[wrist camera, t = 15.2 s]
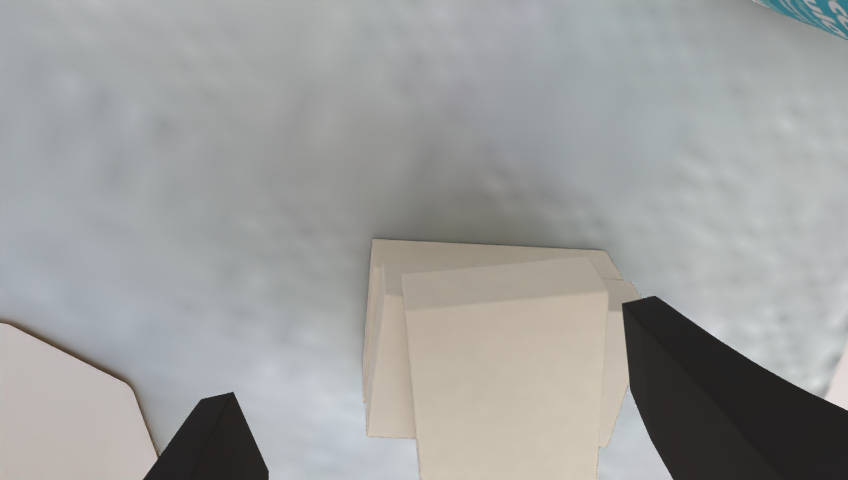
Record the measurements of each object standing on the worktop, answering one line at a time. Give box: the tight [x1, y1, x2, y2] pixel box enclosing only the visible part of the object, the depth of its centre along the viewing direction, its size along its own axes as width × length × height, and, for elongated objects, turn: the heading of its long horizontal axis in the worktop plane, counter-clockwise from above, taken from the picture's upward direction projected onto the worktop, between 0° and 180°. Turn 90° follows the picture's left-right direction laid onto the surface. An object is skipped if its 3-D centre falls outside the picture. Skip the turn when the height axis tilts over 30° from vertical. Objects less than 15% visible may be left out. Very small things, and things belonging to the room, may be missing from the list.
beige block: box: [362, 239, 642, 448], centre depth 23 cm, size 8×5×4 cm
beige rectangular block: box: [401, 256, 609, 480], centre depth 20 cm, size 8×5×2 cm, turn 4°
